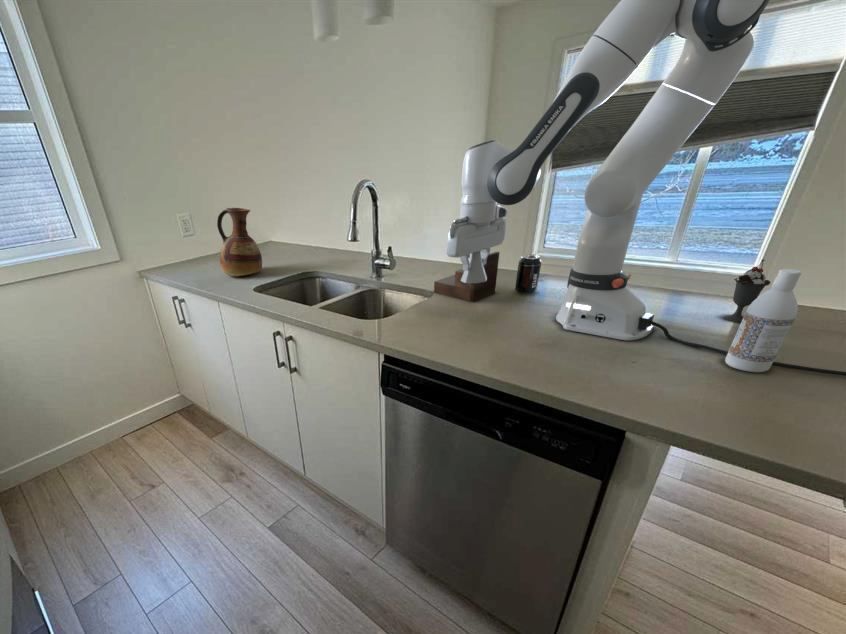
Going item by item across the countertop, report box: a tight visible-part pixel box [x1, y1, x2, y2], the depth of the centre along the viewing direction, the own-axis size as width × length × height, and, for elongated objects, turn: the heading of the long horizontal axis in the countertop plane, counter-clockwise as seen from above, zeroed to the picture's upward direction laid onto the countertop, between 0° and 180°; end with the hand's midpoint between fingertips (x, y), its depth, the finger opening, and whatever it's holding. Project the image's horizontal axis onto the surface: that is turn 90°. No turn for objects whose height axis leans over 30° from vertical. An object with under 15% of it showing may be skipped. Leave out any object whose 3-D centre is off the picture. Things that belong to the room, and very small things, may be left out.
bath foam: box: [724, 268, 802, 373], centre depth 80 cm, size 7×7×20 cm
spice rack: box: [433, 251, 500, 303], centre depth 139 cm, size 17×12×14 cm
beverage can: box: [514, 254, 542, 295], centre depth 134 cm, size 7×7×12 cm
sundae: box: [722, 259, 771, 323], centre depth 101 cm, size 7×7×15 cm
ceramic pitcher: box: [216, 207, 263, 277], centre depth 188 cm, size 20×20×30 cm
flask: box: [461, 251, 487, 283], centre depth 110 cm, size 7×7×10 cm
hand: (474, 267), depth 111 cm, fingers closed on flask, 5 cm apart
